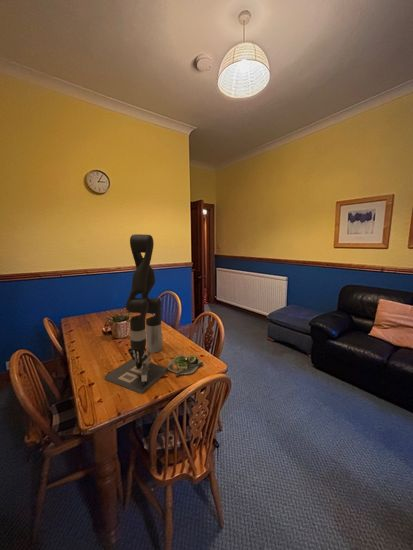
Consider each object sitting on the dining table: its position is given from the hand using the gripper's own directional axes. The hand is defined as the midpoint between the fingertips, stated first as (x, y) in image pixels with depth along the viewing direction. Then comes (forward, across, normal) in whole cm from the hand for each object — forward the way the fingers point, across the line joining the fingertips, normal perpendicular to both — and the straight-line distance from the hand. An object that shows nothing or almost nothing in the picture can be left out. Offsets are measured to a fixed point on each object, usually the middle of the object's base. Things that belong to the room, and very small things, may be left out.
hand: (139, 367), depth 118 cm
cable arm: (-1, -4, 0) cm, 4 cm away
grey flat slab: (+4, 0, +1) cm, 4 cm away
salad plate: (+4, -16, -18) cm, 25 cm away
